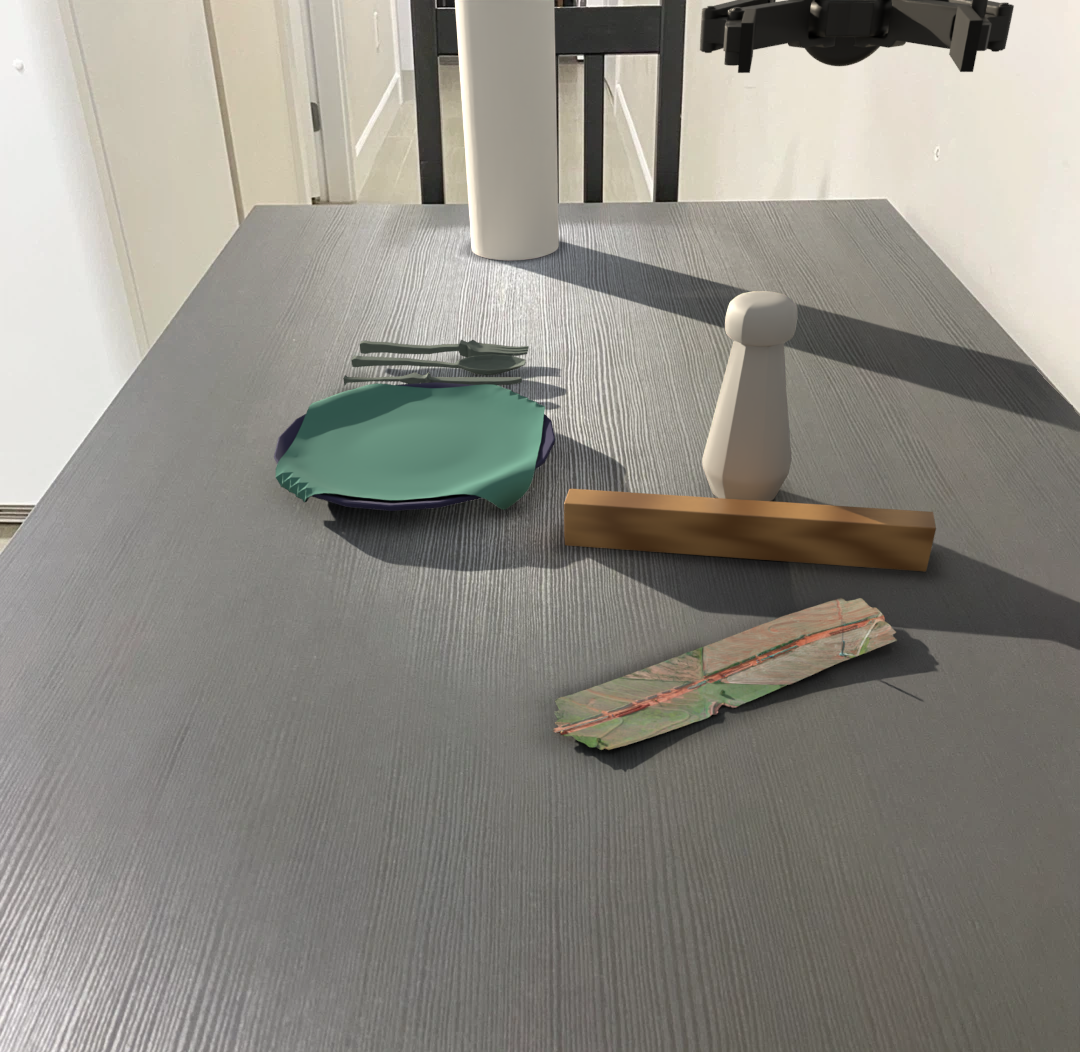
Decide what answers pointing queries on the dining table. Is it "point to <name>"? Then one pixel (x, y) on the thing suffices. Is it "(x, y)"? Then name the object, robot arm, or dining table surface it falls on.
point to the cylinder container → (509, 125)
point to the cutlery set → (419, 435)
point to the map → (721, 674)
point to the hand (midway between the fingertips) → (856, 47)
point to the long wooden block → (750, 529)
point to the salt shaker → (752, 401)
